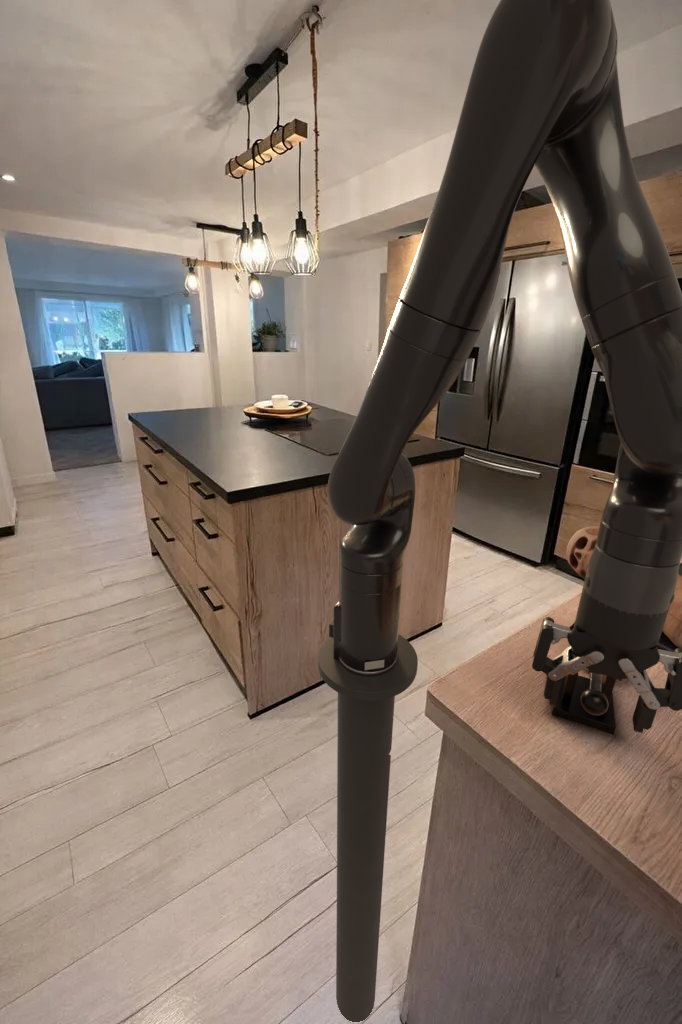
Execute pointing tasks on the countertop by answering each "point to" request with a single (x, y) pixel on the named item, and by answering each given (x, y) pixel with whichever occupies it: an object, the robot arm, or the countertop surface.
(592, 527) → the sculpture
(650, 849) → the countertop surface
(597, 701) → the lever
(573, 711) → the bracket
